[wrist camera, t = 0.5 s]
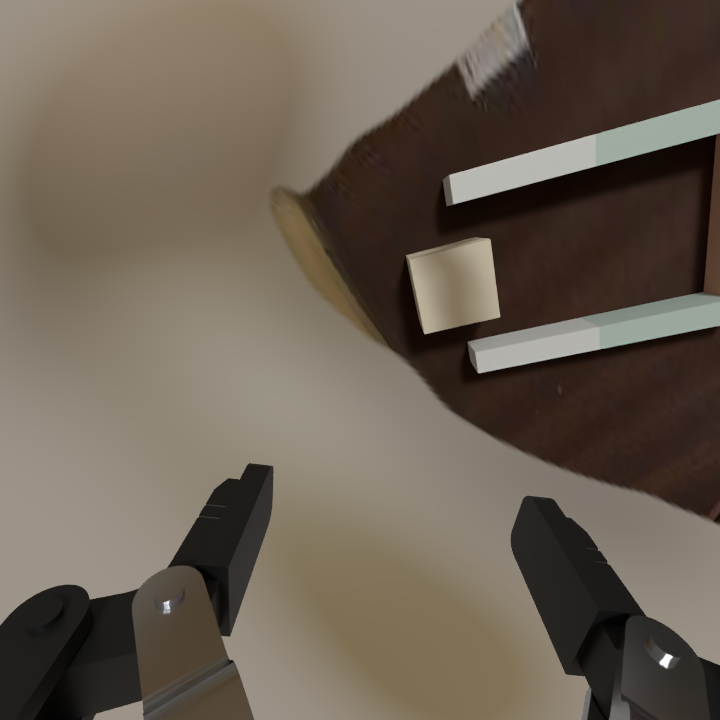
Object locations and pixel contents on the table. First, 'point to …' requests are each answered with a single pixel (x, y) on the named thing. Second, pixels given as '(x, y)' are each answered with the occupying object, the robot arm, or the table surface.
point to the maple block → (454, 284)
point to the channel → (619, 325)
